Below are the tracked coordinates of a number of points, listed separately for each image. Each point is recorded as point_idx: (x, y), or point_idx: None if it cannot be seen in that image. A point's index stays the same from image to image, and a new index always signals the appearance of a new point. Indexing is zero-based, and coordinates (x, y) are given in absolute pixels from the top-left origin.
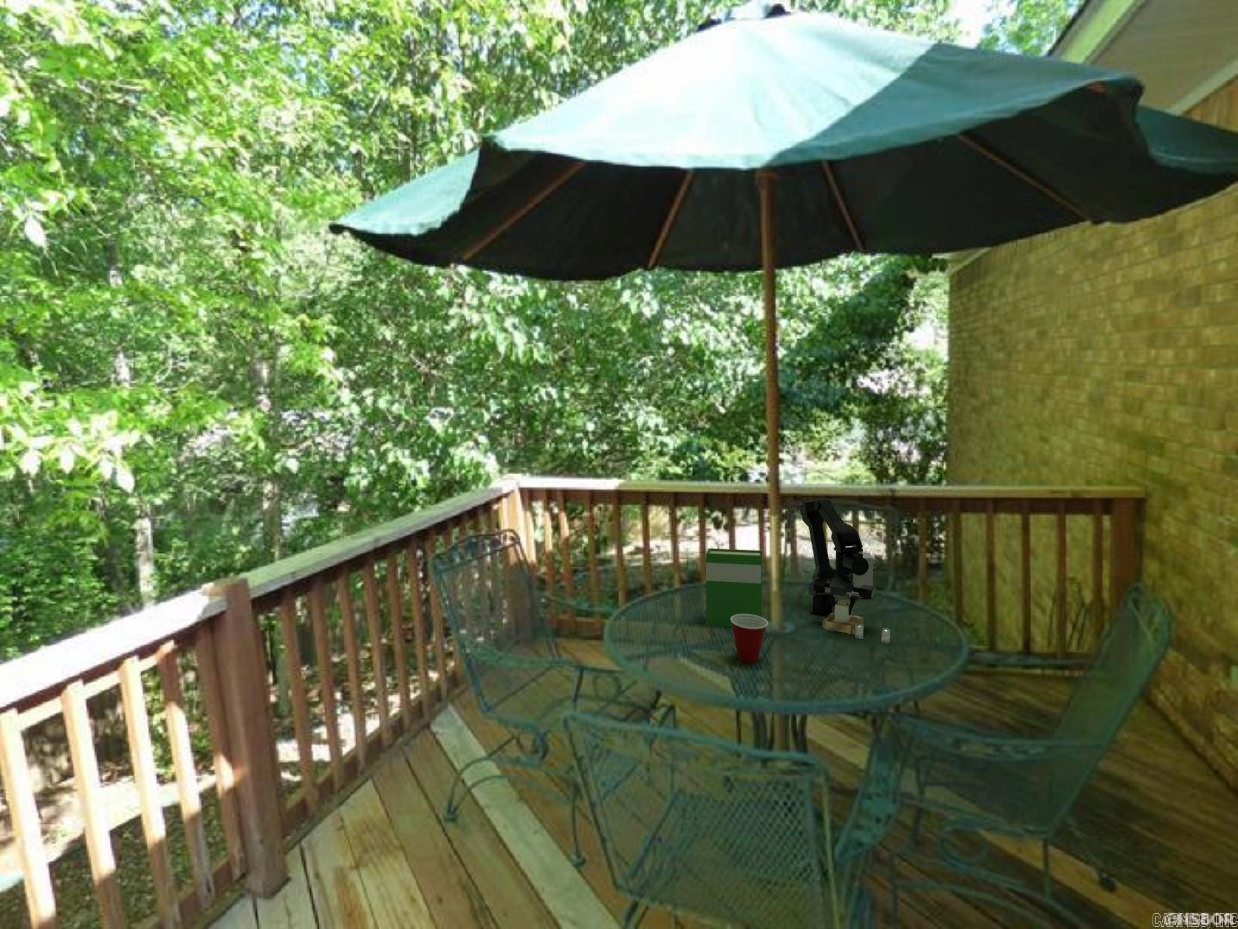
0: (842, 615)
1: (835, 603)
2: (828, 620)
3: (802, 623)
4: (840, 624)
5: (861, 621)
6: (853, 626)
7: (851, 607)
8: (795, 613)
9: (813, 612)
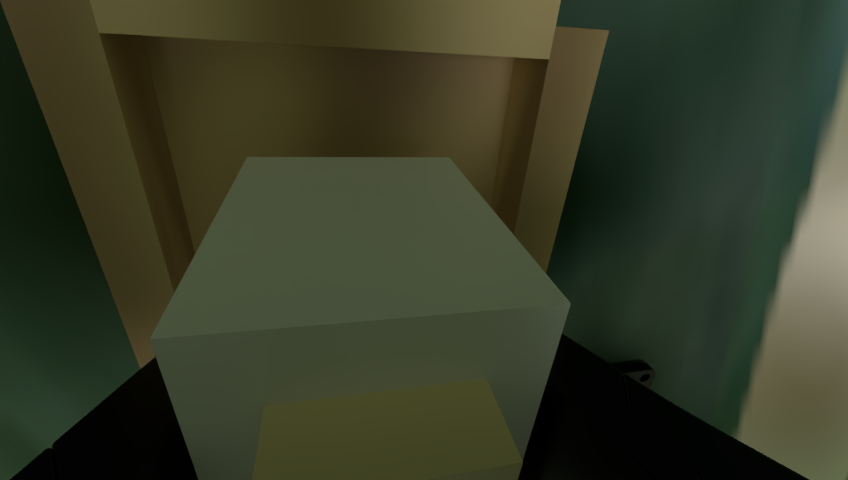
0: (328, 194)
1: (564, 399)
2: (524, 154)
3: (739, 115)
4: (312, 8)
5: (144, 346)
6: (44, 6)
7: (111, 424)
8: (749, 311)
9: (637, 371)
